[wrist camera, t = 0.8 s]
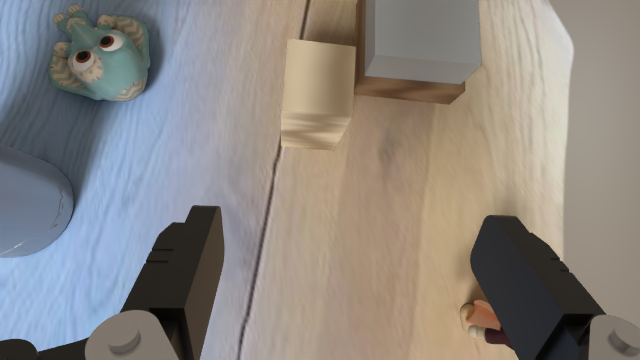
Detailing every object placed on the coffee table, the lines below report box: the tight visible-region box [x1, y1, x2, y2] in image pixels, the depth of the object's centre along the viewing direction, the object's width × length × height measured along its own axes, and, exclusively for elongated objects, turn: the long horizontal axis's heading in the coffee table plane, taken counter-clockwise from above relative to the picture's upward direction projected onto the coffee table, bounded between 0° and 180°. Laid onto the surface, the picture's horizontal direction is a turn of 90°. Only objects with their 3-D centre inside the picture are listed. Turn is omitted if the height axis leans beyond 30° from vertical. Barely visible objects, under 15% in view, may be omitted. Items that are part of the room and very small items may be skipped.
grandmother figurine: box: [460, 300, 514, 350], centre depth 30 cm, size 8×4×13 cm, turn 96°
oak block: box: [281, 39, 356, 151], centre depth 34 cm, size 6×6×10 cm
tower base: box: [354, 0, 465, 104], centre depth 40 cm, size 11×11×4 cm
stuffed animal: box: [47, 5, 151, 101], centre depth 34 cm, size 11×7×12 cm
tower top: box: [365, 0, 482, 84], centre depth 36 cm, size 10×10×4 cm
